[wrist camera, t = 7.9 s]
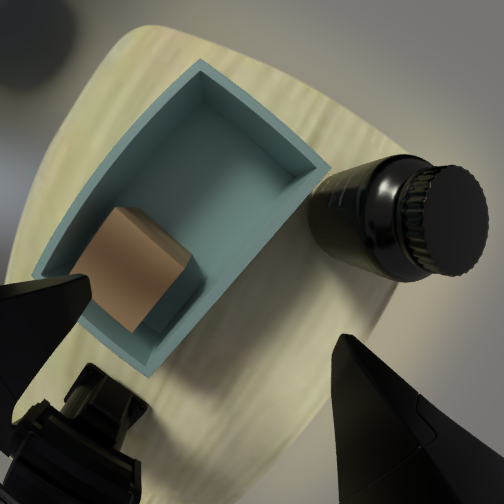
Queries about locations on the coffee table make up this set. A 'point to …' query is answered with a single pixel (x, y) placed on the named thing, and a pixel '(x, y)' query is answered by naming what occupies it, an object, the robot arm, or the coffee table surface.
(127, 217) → the walnut cube
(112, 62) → the coffee table surface
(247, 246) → the tote
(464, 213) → the supplement bottle
